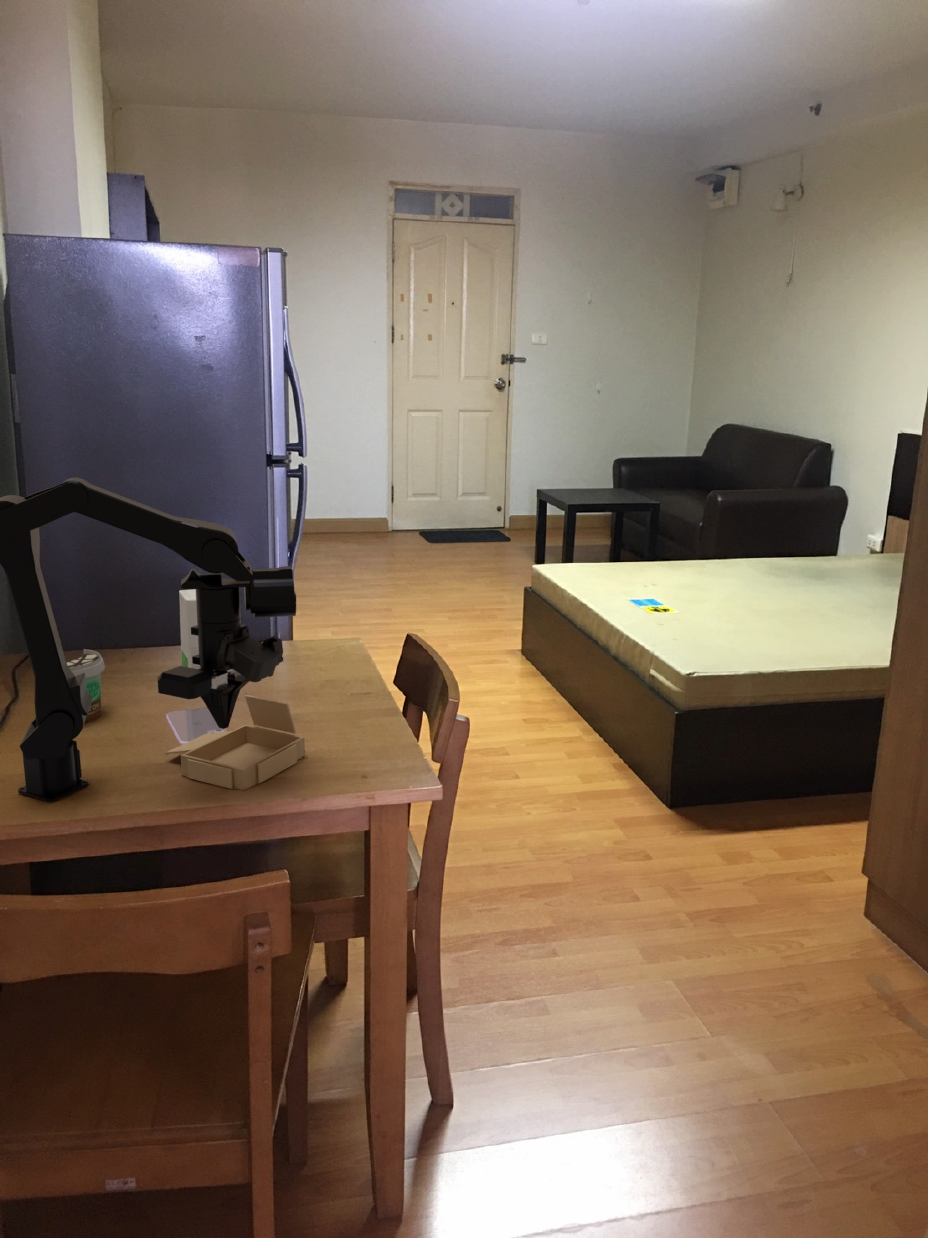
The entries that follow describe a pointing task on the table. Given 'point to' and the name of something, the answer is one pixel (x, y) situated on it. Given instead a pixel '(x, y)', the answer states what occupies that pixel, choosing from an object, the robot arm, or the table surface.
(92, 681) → the food container
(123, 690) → the table surface
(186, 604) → the skincare box
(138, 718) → the table surface
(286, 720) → the front flap
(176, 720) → the mobile phone
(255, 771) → the carton
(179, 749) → the left flap
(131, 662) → the table surface
